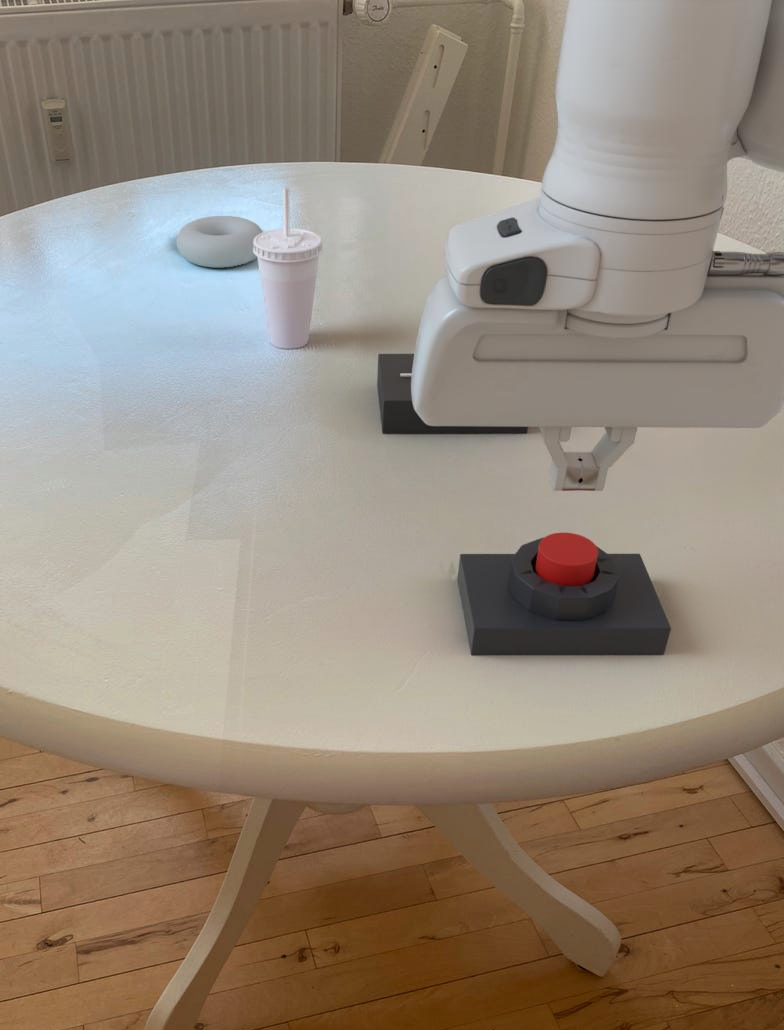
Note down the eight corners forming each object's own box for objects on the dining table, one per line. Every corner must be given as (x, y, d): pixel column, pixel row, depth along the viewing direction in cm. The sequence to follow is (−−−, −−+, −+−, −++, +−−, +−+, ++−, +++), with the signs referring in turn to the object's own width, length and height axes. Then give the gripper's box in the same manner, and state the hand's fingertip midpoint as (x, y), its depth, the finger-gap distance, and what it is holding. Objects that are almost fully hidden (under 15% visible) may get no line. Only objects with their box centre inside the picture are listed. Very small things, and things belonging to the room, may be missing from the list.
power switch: (633, 579, 72) (645, 530, 69) (664, 655, 66) (678, 605, 63) (457, 580, 72) (462, 530, 69) (470, 656, 66) (477, 605, 63)
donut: (165, 250, 122) (195, 277, 115) (163, 219, 120) (192, 245, 113) (246, 237, 125) (279, 263, 118) (245, 207, 123) (278, 232, 116)
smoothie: (315, 325, 105) (316, 177, 96) (328, 352, 100) (329, 198, 91) (252, 329, 104) (246, 181, 95) (261, 357, 99) (256, 203, 90)
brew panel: (511, 384, 95) (515, 351, 93) (527, 433, 88) (532, 398, 86) (376, 385, 95) (378, 351, 93) (382, 433, 88) (383, 398, 86)
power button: (587, 554, 68) (591, 532, 67) (599, 588, 65) (603, 565, 64) (531, 554, 68) (534, 532, 67) (540, 588, 65) (544, 565, 64)
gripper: (802, 231, 56) (734, 460, 65) (418, 229, 56) (402, 458, 65) (849, 275, 51) (768, 516, 60) (428, 272, 51) (409, 513, 60)
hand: (575, 486), depth 63 cm, fingers closed
